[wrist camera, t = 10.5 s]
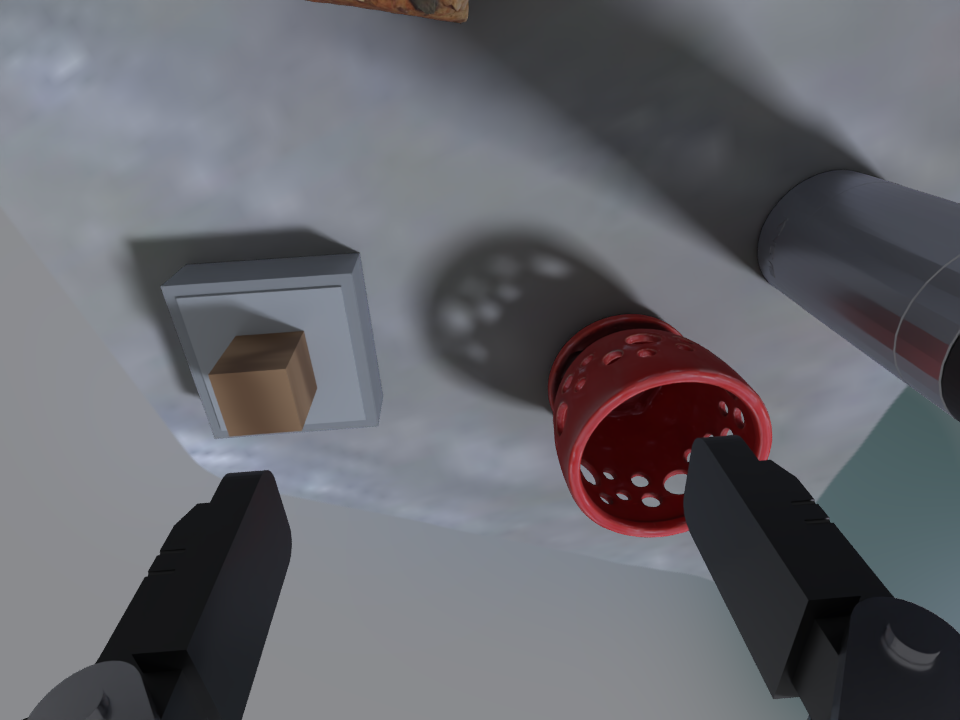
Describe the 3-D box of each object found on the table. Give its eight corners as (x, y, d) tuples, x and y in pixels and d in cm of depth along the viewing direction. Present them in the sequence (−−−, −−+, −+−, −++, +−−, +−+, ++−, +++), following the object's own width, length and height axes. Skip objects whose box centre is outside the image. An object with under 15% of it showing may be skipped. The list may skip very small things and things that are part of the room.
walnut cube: (304, 330, 37) (285, 369, 33) (317, 388, 39) (301, 430, 35) (235, 335, 37) (208, 374, 33) (252, 393, 39) (229, 436, 35)
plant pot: (697, 419, 48) (768, 522, 38) (546, 445, 48) (575, 555, 38) (701, 278, 42) (788, 356, 31) (527, 310, 42) (555, 397, 32)
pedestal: (359, 253, 39) (351, 274, 35) (383, 396, 45) (378, 428, 41) (185, 264, 39) (158, 287, 35) (232, 408, 45) (213, 440, 41)
